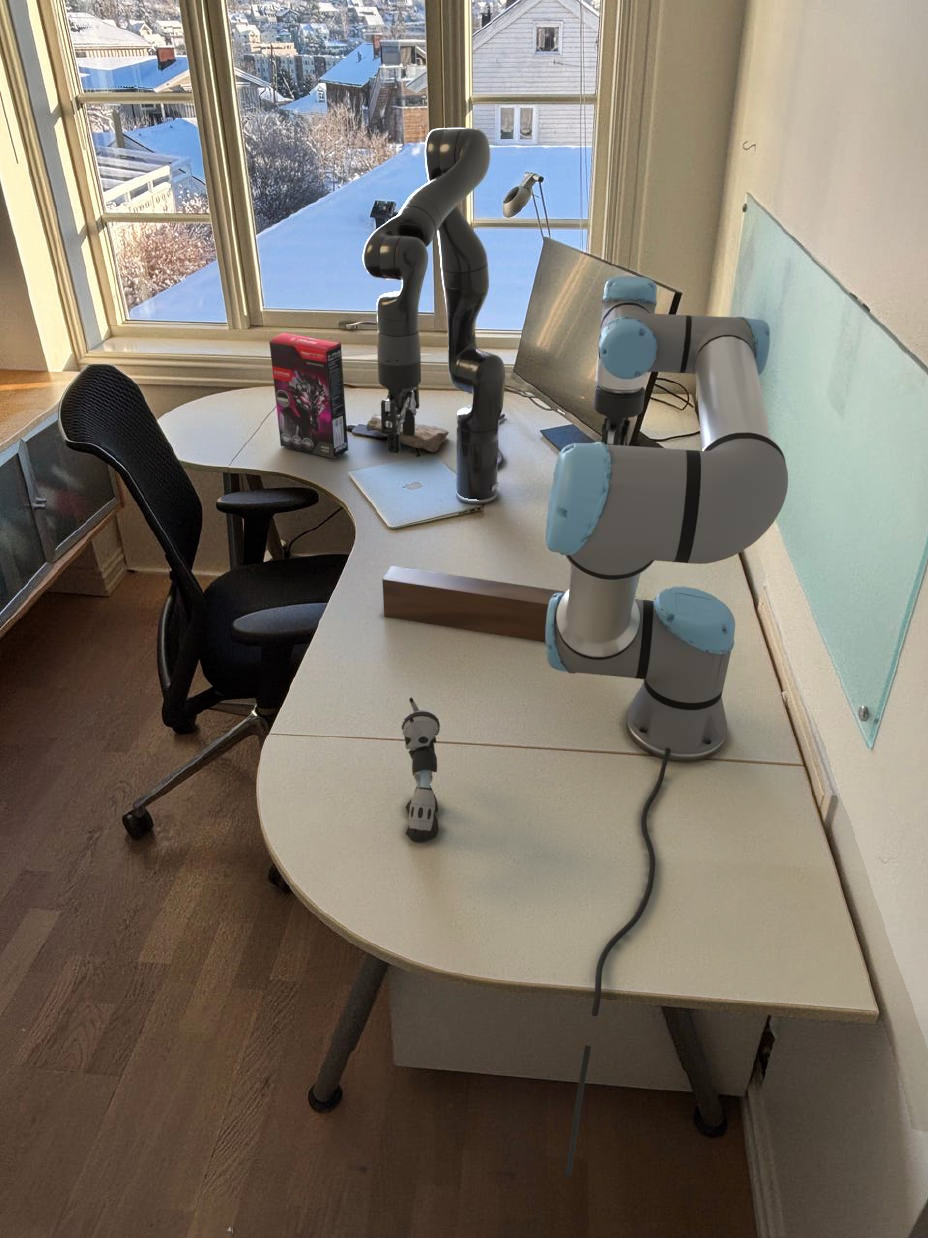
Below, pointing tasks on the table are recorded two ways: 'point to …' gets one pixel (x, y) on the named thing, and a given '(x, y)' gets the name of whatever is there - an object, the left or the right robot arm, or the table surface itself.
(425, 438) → the stone
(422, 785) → the robot
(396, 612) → the walnut beam
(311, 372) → the graphics card box
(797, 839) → the table surface
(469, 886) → the table surface
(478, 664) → the table surface
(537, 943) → the table surface
